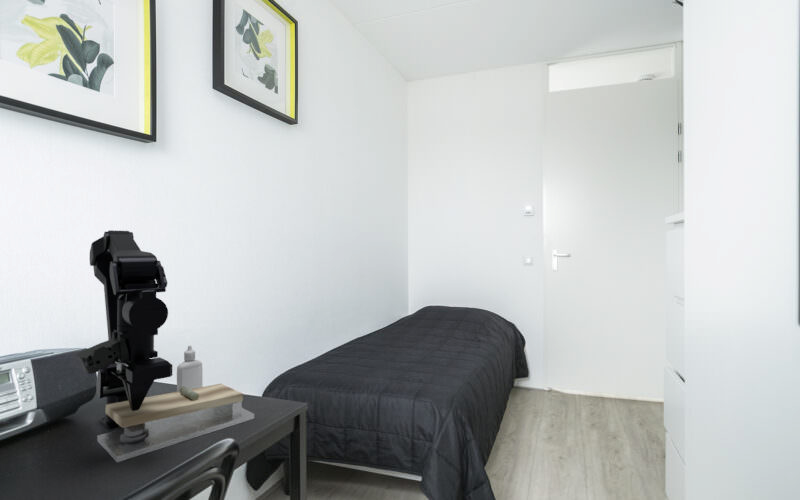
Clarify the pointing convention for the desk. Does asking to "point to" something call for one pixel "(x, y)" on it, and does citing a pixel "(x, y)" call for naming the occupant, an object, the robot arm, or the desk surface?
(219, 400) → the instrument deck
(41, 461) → the desk surface
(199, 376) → the eye dropper bottle
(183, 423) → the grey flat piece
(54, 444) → the desk surface
